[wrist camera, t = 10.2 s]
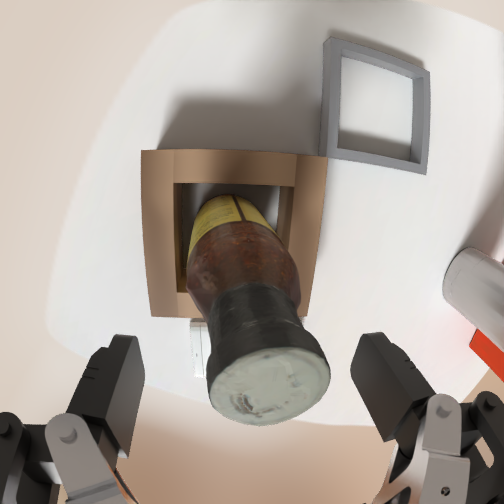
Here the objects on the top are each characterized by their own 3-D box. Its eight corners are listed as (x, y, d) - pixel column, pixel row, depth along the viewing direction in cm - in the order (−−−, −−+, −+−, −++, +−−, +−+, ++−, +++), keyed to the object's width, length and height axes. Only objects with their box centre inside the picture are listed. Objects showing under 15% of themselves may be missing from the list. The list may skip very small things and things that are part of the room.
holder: (308, 155, 25) (328, 157, 20) (293, 290, 30) (306, 316, 25) (155, 149, 23) (141, 150, 18) (160, 289, 28) (151, 316, 23)
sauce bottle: (191, 251, 27) (156, 437, 8) (199, 187, 25) (145, 302, 6) (257, 259, 28) (319, 439, 9) (269, 197, 26) (385, 321, 7)
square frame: (419, 74, 22) (429, 71, 20) (415, 172, 26) (426, 175, 24) (323, 43, 21) (330, 36, 19) (318, 156, 25) (326, 157, 23)
